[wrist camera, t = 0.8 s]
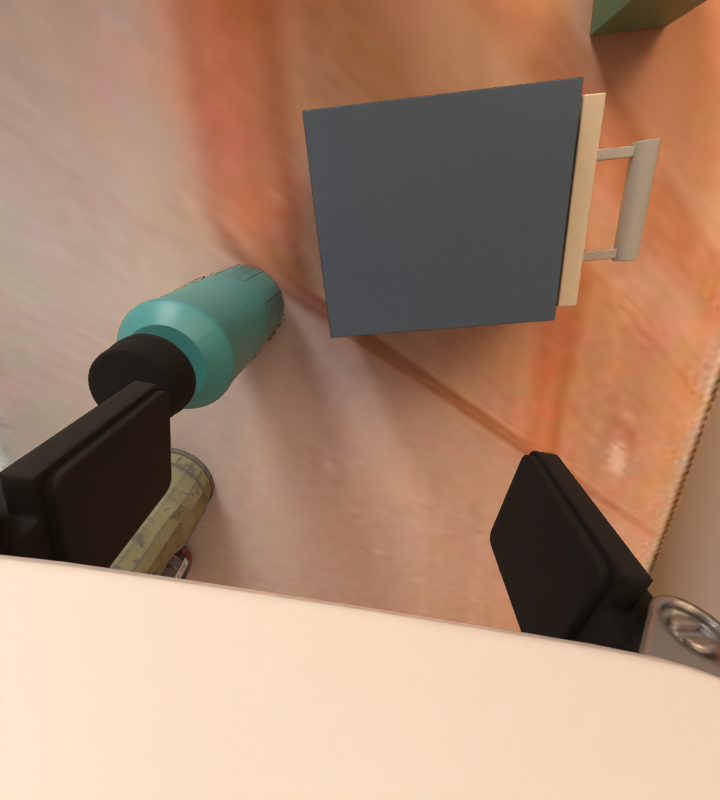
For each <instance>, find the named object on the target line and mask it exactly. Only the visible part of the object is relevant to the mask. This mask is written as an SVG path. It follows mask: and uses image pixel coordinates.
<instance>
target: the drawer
mask: <svg viewBox="0 0 720 800" xmlns="http://www.w3.org/2000/svg"><path fill="white" fill-rule="evenodd" d="M605 97H606V93H596V94H588V95H584V96H582V97H581V100H580V109H579V117H578V126H577V134H576V142H575V151H574V159H573V168H572V176H571V184H570V193H569V201H568V210H567V218H566V226H565V235H564V243H563V252H562V260H561V268H560V277H559V285H558V293H557V302H556V306H558V307H565V306H575V305H576V303H577V296H578V289H579V282H580V275H581V268H582V261H591V260H602V259H612V261H635V260H637V259H638V254H639V249H640V244H641V239H642V234H643V228H644V223H645V218H646V213H647V208H648V203H649V198H650V193H651V188H652V183H653V178H654V172H655V167H656V162H657V157H658V152H659V147H660V142H661V139H648V140H642V141H637V142H633V143H632V144H631V146H625V147H616V148H606V149H598V147H599V140H600V133H601V126H602V118H603V111H604V104H605ZM621 158H629V161H628V167H627V173H626V179H625V185H624V191H623V196H622V202H621V208H620V214H619V220H618V226H617V232H616V238H615V243H614V249H603V250H591V251H584V246H585V239H586V232H587V225H588V218H589V211H590V204H591V197H592V190H593V182H594V175H595V168H596V161H603V160H612V159H621Z"/></svg>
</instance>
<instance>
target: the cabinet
mask: <svg viewBox="0 0 720 800" xmlns="http://www.w3.org/2000/svg"><path fill="white" fill-rule="evenodd" d="M582 84H583V77H577V78H569V79H561V80H552V81H544V82H536V83H527V84H519V85H511V86H503V87H494V88H486V89H478V90H469V91H461V92H453V93H445V94H436V95H428V96H420V97H411V98H403V99H395V100H386V101H378V102H370V103H362V104H353V105H345V106H337V107H328V108H320V109H312V110H304V111H302V113H303V121H304V129H305V137H306V145H307V153H308V161H309V169H310V177H311V185H312V193H313V201H314V209H315V216H316V224H317V232H318V240H319V248H320V256H321V264H322V272H323V280H324V288H325V296H326V304H327V312H328V320H329V328H330V336H331V338H334V337H347V336H360V335H372V334H385V333H398V332H410V331H423V330H435V329H448V328H461V327H473V326H486V325H499V324H511V323H524V322H537V321H549V320H554V319H555V310H556V302H557V293H558V285H559V277H560V268H561V260H562V252H563V243H564V235H565V226H566V218H567V210H568V201H569V193H570V184H571V176H572V168H573V159H574V151H575V142H576V134H577V126H578V117H579V109H580V100H581V92H582Z"/></svg>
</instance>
